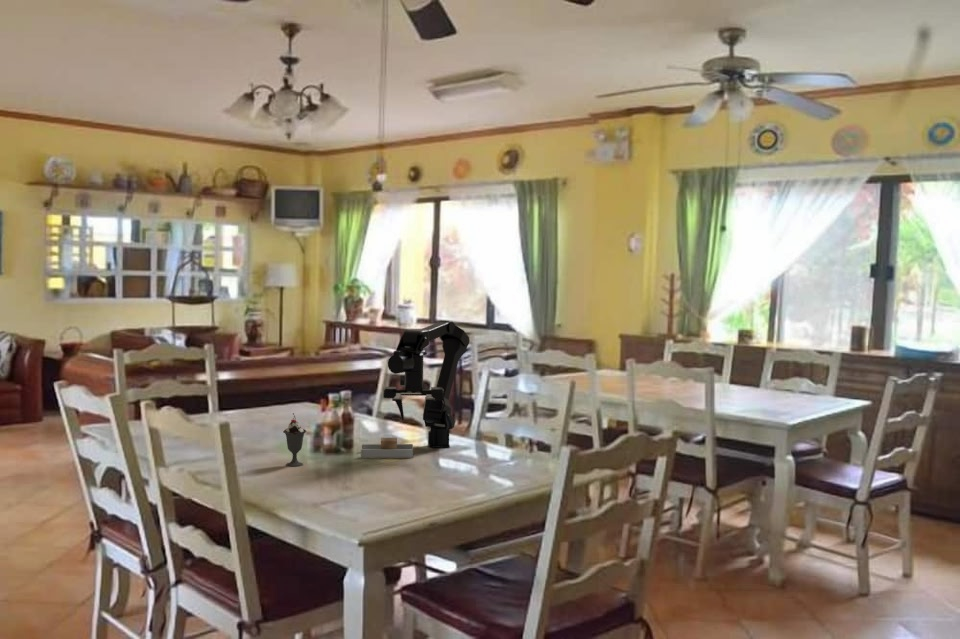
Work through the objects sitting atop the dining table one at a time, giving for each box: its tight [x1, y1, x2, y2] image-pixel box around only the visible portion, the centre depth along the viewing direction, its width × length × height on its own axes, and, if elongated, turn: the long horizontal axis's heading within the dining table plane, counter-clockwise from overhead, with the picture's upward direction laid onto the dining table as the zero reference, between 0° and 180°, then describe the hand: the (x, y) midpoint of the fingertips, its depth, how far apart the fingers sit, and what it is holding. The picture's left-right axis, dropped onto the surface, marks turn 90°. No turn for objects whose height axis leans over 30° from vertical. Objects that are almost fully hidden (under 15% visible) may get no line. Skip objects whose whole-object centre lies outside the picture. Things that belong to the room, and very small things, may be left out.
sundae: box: [283, 413, 307, 468], centre depth 249 cm, size 7×7×15 cm
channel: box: [360, 443, 414, 459], centre depth 265 cm, size 16×8×2 cm, turn 96°
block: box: [380, 437, 398, 449], centre depth 265 cm, size 5×5×5 cm
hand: (413, 419), depth 265 cm, fingers open, 6 cm apart
